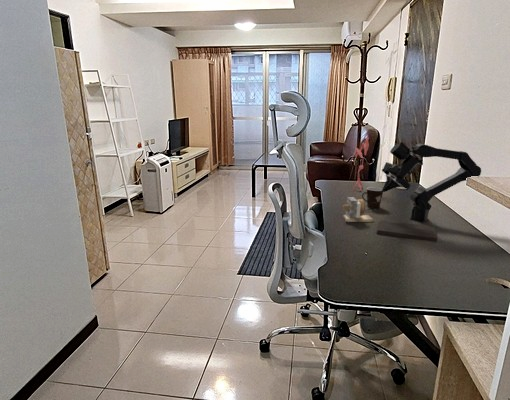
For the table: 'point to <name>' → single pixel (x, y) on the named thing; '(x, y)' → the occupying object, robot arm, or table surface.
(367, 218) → the base
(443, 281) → the table surface
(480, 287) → the table surface
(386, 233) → the hardcover book
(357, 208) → the spacer
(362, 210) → the tan egg-shaped dome
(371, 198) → the coffee mug
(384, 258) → the table surface
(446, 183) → the robot arm
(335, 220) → the table surface
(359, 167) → the figurine
